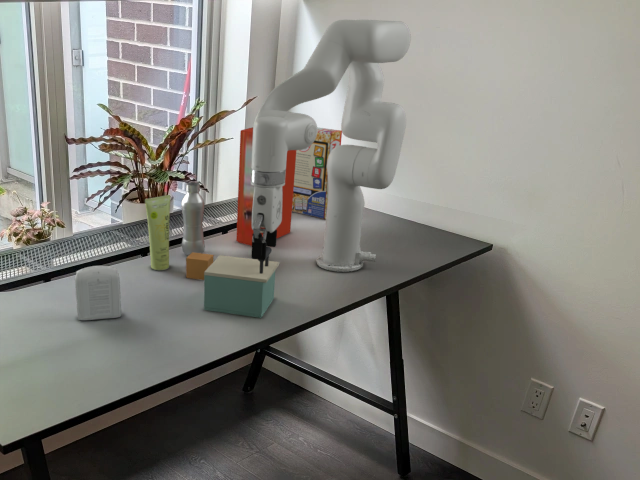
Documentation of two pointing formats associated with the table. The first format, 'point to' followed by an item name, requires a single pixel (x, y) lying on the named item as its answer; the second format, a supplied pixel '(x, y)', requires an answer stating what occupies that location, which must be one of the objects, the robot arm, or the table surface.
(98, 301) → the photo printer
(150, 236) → the tube
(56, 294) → the table surface
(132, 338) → the table surface
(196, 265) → the orange cube
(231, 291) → the open storage box
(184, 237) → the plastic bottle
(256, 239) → the robot arm
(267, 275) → the lid
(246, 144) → the file binder
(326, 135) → the board game
